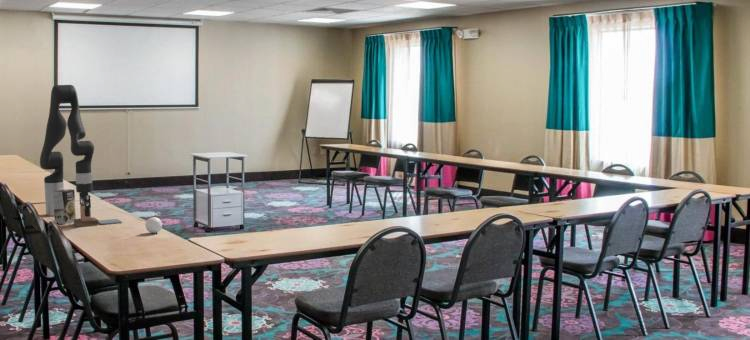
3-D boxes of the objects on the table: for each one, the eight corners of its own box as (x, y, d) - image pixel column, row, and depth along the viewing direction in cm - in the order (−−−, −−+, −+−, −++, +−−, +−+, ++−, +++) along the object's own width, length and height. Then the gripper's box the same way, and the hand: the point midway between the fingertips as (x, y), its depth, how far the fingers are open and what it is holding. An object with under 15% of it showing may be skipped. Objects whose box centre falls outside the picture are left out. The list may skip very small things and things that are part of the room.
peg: (80, 224, 389) (80, 206, 388) (89, 223, 391) (88, 205, 390) (82, 225, 386) (81, 207, 385) (91, 224, 388) (90, 206, 387)
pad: (96, 221, 396) (96, 220, 396) (117, 220, 401) (117, 218, 401) (101, 224, 387) (100, 223, 387) (122, 222, 393) (121, 221, 392)
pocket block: (73, 224, 390) (73, 219, 390) (94, 222, 395) (93, 217, 395) (77, 226, 382) (77, 221, 382) (98, 225, 387) (98, 219, 387)
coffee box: (66, 224, 390) (64, 191, 389) (54, 223, 392) (52, 191, 390) (76, 221, 399) (75, 189, 397) (64, 220, 400) (63, 188, 399)
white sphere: (165, 232, 365) (165, 217, 364) (151, 235, 359) (150, 219, 359) (153, 230, 372) (153, 214, 371) (139, 232, 366) (138, 216, 365)
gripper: (73, 181, 391) (74, 214, 392) (78, 184, 378) (80, 217, 380) (89, 180, 394) (90, 212, 396) (95, 183, 382) (96, 216, 384)
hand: (85, 215), depth 388 cm, fingers open, 8 cm apart
